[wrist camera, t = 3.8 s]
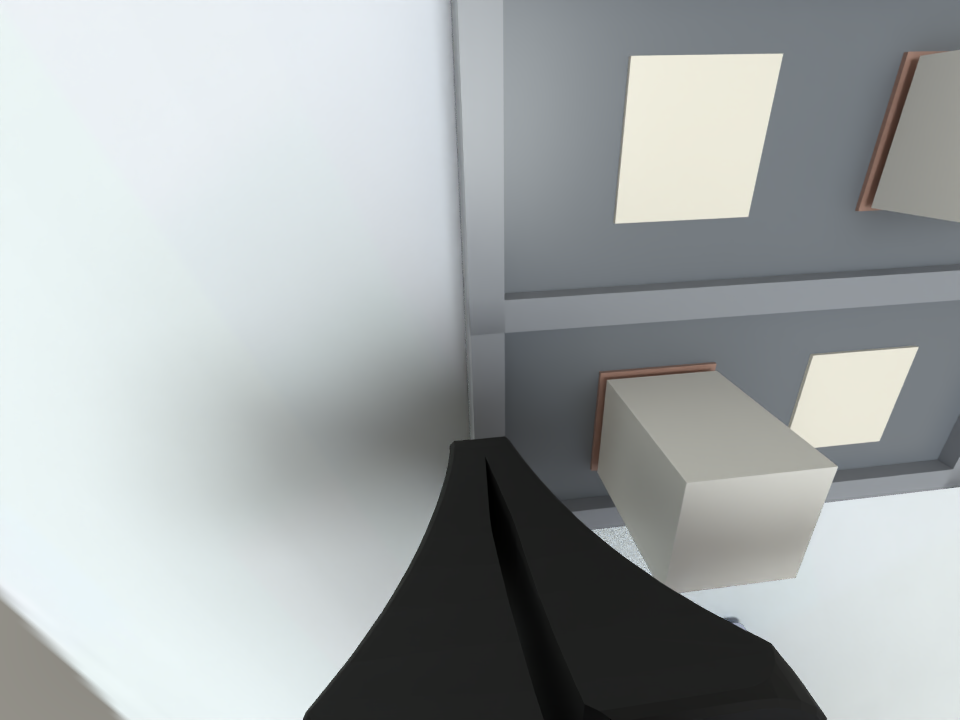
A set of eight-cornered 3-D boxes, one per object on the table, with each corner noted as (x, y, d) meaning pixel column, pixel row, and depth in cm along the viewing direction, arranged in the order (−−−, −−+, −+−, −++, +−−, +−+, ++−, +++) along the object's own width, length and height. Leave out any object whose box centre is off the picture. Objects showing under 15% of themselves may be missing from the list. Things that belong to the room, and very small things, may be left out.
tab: (696, 462, 14) (795, 577, 10) (597, 472, 13) (663, 595, 10) (716, 370, 12) (838, 466, 9) (606, 379, 12) (686, 483, 9)
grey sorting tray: (920, 457, 17) (964, 486, 15) (473, 506, 15) (478, 542, 14) (1158, -45, 11) (1266, -71, 9) (448, -51, 9) (454, -83, 8)
